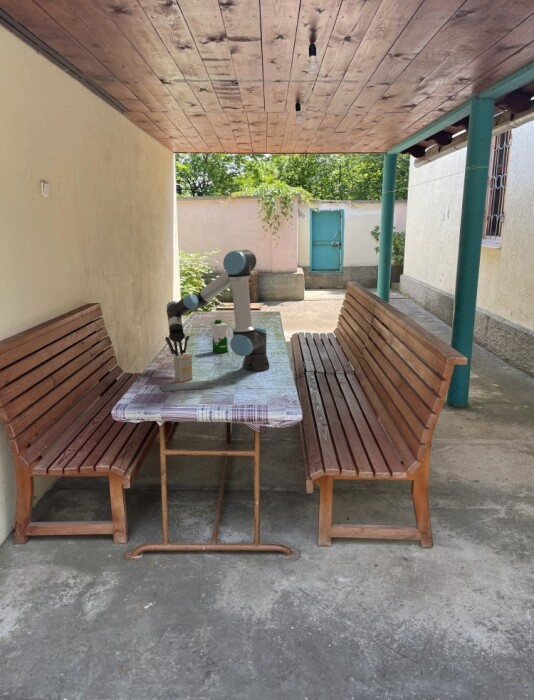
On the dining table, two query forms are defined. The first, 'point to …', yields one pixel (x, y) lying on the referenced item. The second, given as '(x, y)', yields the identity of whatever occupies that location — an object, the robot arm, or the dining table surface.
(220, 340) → the milk carton
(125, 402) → the dining table surface
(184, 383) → the rubber mat
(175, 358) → the supplement box
